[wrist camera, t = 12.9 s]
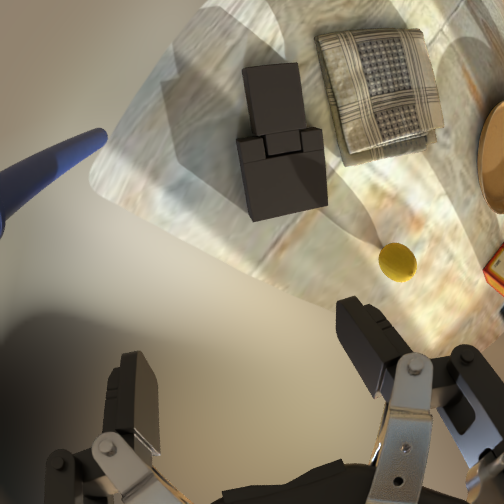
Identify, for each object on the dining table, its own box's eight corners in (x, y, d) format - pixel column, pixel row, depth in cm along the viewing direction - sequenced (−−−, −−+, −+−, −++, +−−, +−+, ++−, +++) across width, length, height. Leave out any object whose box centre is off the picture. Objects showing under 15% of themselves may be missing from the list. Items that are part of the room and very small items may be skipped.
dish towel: (308, 35, 30) (318, 31, 27) (414, 29, 31) (428, 27, 28) (340, 170, 40) (352, 176, 37) (434, 143, 40) (447, 147, 38)
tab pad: (255, 153, 36) (260, 157, 34) (241, 69, 31) (245, 67, 29) (301, 145, 37) (309, 148, 35) (290, 64, 32) (297, 62, 30)
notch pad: (248, 215, 40) (253, 222, 38) (235, 139, 35) (239, 142, 33) (320, 199, 41) (328, 205, 39) (313, 126, 36) (322, 129, 34)
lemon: (364, 259, 48) (390, 286, 41) (381, 230, 46) (411, 254, 39) (385, 268, 50) (411, 294, 43) (402, 241, 48) (431, 264, 41)
